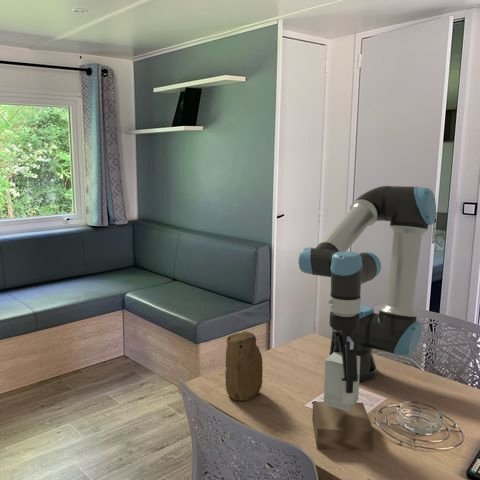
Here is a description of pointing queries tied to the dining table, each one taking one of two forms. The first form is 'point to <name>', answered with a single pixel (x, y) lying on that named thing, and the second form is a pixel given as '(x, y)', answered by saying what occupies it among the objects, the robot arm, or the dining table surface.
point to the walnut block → (342, 428)
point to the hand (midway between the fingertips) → (341, 393)
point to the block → (243, 366)
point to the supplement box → (337, 382)
